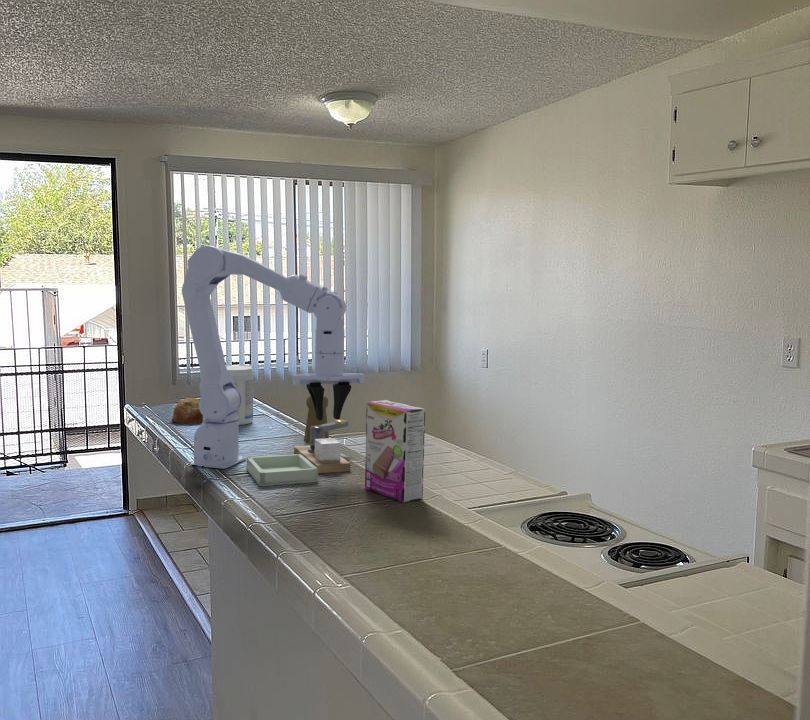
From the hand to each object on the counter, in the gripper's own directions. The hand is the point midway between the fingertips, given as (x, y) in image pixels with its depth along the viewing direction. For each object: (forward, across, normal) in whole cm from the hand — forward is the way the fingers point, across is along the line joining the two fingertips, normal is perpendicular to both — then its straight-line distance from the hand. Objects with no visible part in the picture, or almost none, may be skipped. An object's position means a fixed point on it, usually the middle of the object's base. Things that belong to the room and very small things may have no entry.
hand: (328, 419), depth 154 cm
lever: (+8, +3, +10) cm, 13 cm away
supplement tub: (+10, -10, +52) cm, 54 cm away
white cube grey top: (+8, 0, 0) cm, 8 cm away
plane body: (+10, 0, +4) cm, 11 cm away
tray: (+10, -10, -4) cm, 15 cm away
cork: (+10, +5, +26) cm, 28 cm away
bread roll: (+10, -20, +58) cm, 63 cm away
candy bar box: (+10, +6, -23) cm, 25 cm away
